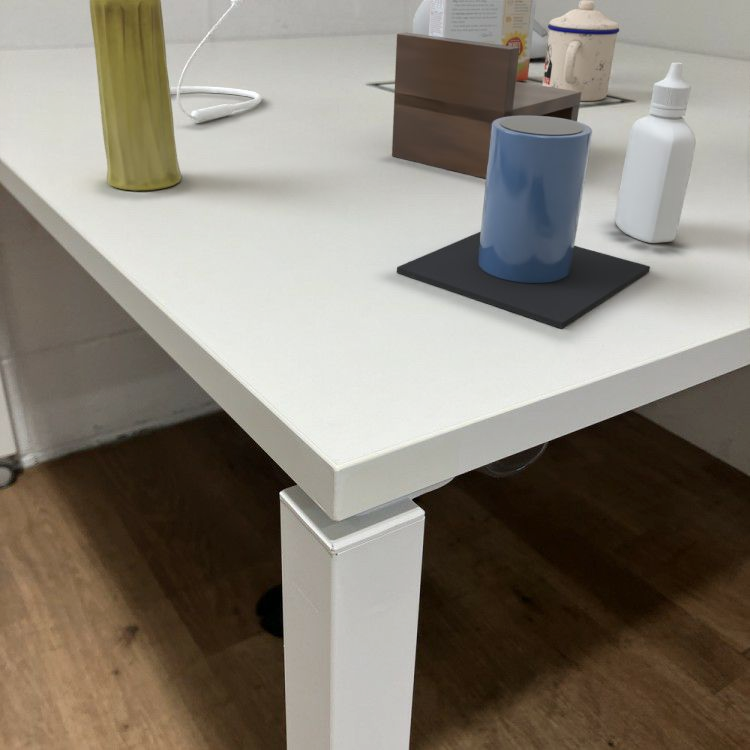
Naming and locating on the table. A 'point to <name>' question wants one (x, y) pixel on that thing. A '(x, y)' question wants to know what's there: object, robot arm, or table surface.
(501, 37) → the cracker box
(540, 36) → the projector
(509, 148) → the cup
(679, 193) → the eye dropper bottle
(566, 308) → the mat
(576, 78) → the teacup with lid
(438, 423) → the table surface
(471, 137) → the shelf
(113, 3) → the vase
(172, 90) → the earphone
